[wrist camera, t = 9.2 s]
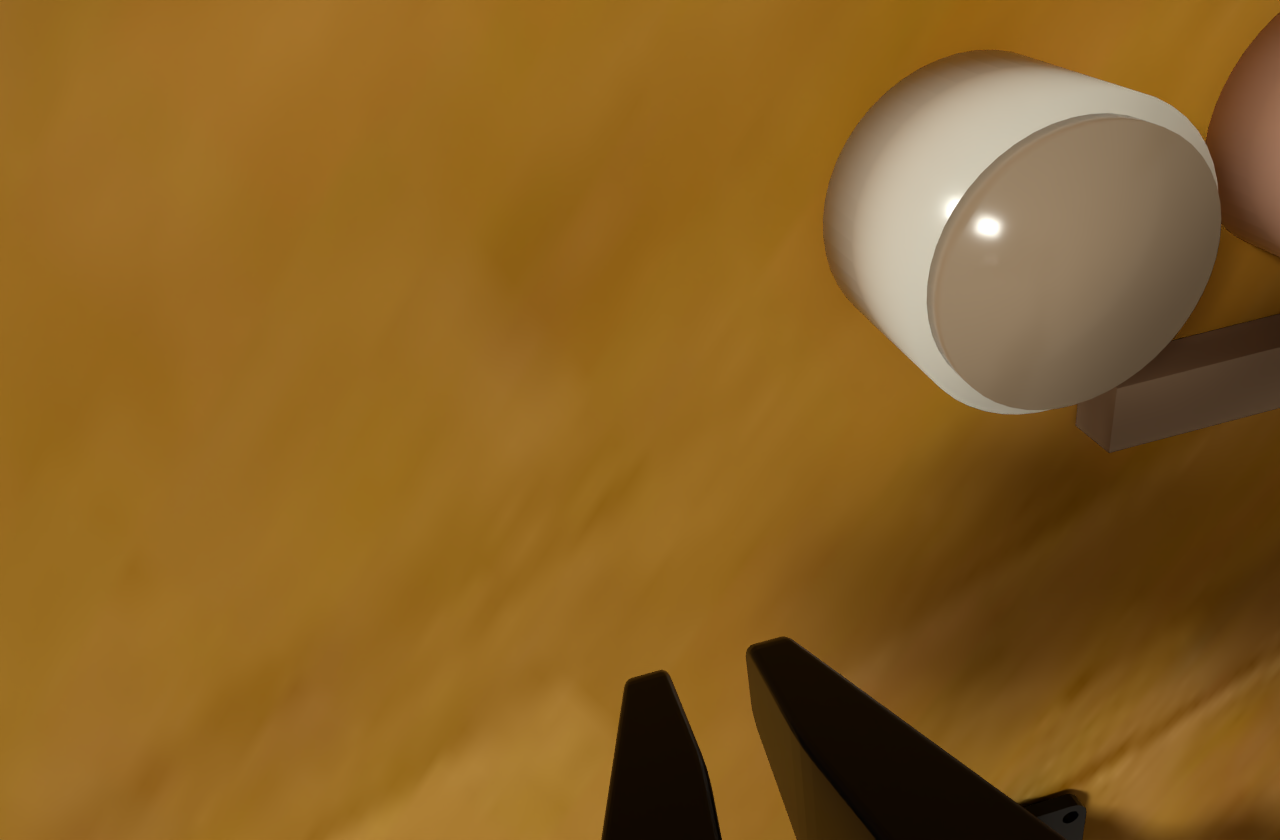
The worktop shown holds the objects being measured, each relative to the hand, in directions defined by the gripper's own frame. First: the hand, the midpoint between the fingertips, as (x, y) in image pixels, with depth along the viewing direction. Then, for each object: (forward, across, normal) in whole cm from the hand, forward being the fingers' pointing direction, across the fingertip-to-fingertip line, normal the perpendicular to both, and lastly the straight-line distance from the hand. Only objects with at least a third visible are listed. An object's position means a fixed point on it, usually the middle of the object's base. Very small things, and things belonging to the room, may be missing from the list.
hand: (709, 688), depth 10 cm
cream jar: (+10, -8, 0) cm, 13 cm away
